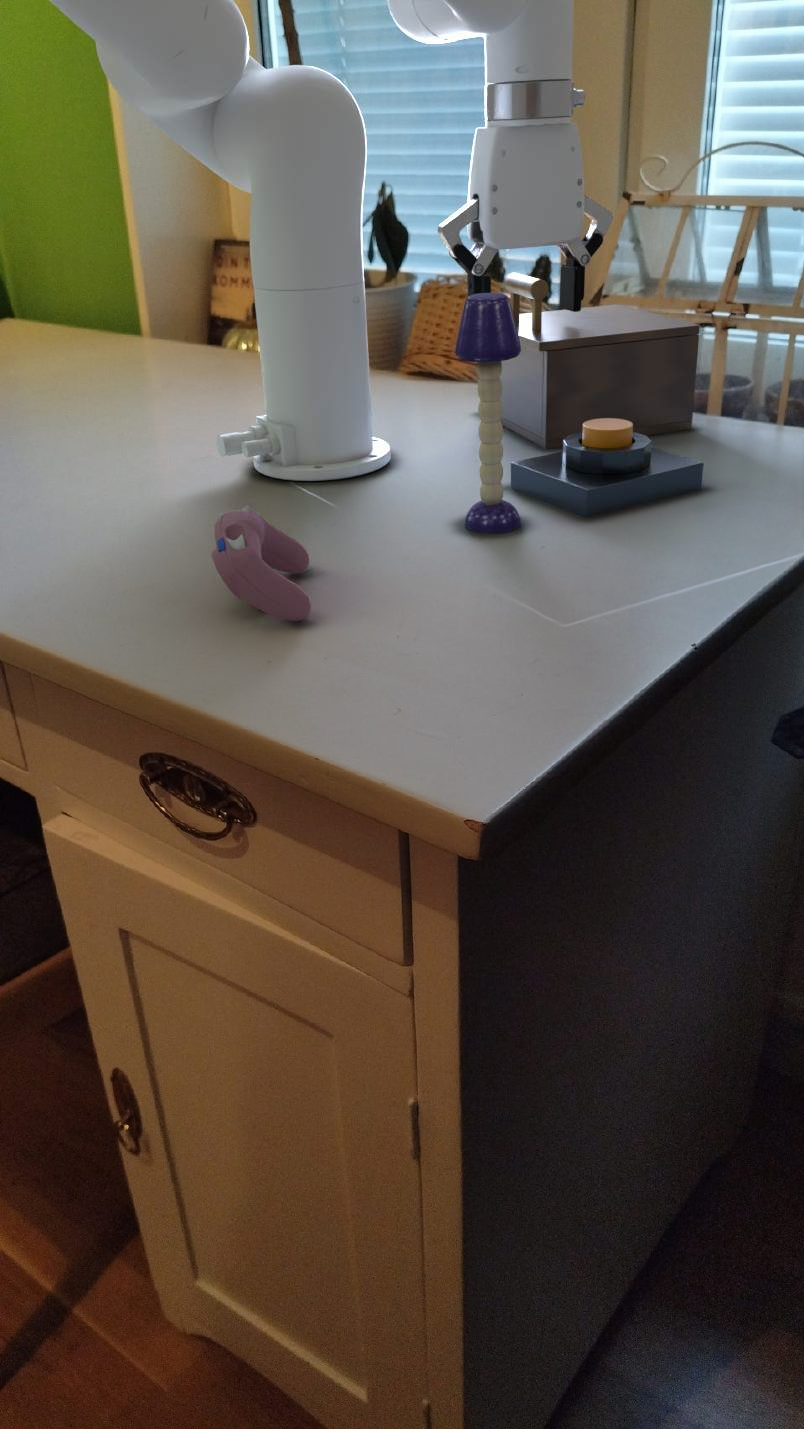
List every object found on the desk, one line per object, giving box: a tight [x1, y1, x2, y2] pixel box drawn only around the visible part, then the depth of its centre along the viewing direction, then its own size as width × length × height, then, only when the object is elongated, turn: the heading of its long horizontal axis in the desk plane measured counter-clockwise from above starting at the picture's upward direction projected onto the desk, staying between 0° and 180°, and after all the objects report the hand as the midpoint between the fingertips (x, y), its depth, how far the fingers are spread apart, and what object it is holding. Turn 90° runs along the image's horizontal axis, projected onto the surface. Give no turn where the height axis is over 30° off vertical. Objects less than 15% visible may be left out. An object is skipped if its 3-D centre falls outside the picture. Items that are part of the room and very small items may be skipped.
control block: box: [510, 432, 705, 518], centre depth 90 cm, size 12×10×4 cm
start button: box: [582, 418, 633, 448], centre depth 89 cm, size 4×4×2 cm
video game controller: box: [211, 505, 312, 622], centre depth 72 cm, size 10×5×7 cm, turn 5°
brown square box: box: [499, 334, 700, 449], centre depth 109 cm, size 16×16×9 cm
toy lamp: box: [454, 292, 521, 535], centre depth 80 cm, size 5×5×17 cm
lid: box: [504, 272, 701, 351], centre depth 106 cm, size 16×16×5 cm
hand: (526, 314), depth 105 cm, fingers open, 8 cm apart
